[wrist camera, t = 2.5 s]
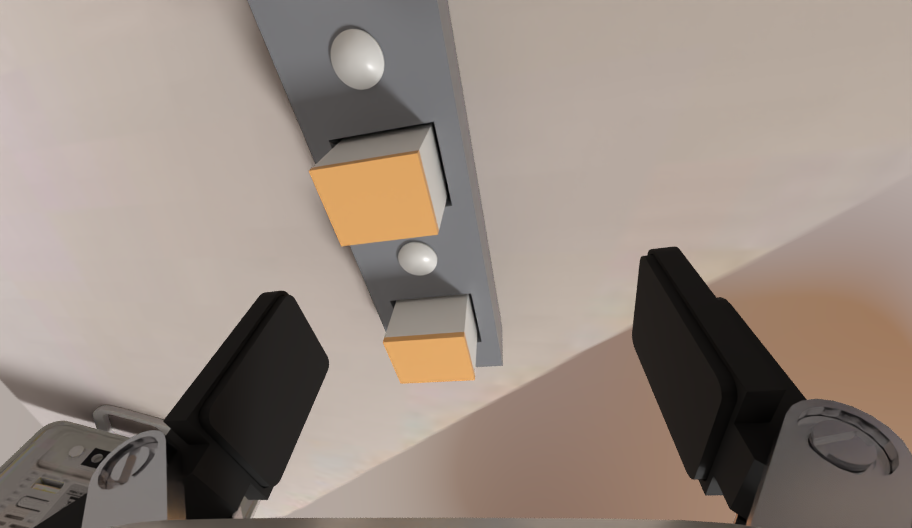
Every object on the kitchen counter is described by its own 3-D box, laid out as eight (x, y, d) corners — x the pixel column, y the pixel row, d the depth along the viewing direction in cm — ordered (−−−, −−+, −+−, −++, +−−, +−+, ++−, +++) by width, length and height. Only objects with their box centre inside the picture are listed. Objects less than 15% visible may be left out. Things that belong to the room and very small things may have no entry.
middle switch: (432, 123, 19) (417, 153, 16) (447, 193, 21) (437, 234, 18) (342, 139, 20) (308, 171, 16) (366, 205, 22) (341, 246, 19)
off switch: (468, 287, 25) (463, 336, 22) (477, 329, 28) (474, 380, 24) (398, 294, 26) (382, 342, 23) (412, 334, 29) (400, 383, 25)
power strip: (397, -302, 14) (364, -400, 10) (502, 327, 32) (502, 367, 28) (207, -227, 15) (122, -291, 12) (411, 334, 33) (401, 373, 30)
